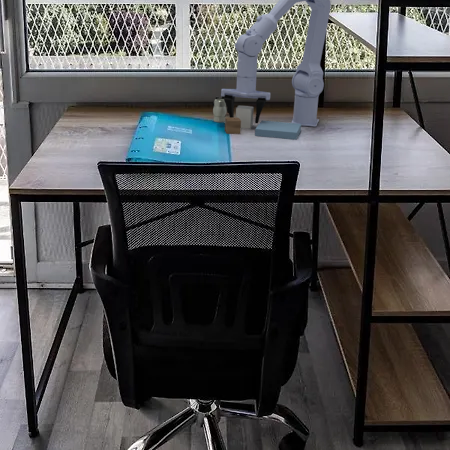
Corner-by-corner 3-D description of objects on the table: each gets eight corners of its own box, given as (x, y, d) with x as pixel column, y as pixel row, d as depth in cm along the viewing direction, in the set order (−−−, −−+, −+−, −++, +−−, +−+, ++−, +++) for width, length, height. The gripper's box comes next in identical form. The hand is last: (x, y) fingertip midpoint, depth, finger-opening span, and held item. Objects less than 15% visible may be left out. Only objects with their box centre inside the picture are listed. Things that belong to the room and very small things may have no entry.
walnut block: (224, 130, 243) (225, 117, 242) (238, 130, 244) (238, 117, 243) (226, 134, 240) (227, 120, 238) (240, 134, 240) (241, 120, 239)
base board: (261, 126, 250) (261, 120, 249) (300, 130, 248) (301, 123, 247) (254, 135, 239) (255, 129, 238) (296, 139, 237) (296, 132, 236)
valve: (229, 123, 253) (232, 115, 264) (230, 102, 251) (234, 94, 262) (207, 121, 254) (212, 113, 265) (208, 100, 251) (213, 93, 263)
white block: (237, 124, 251) (238, 105, 249) (252, 126, 251) (253, 106, 249) (235, 128, 247) (236, 108, 245) (250, 129, 246) (251, 109, 244)
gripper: (219, 76, 241) (217, 122, 246) (269, 80, 239) (266, 126, 243) (224, 72, 248) (222, 117, 252) (272, 76, 245) (269, 121, 250)
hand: (244, 121), depth 248 cm, fingers open, 7 cm apart
